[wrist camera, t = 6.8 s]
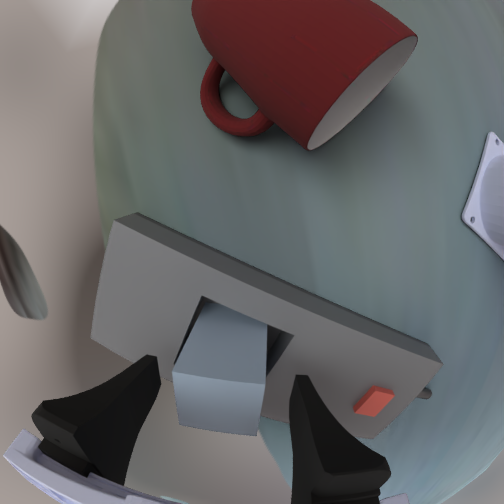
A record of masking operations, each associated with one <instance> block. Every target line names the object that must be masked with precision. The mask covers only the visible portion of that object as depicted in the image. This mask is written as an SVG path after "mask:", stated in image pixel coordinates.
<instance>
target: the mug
mask: <svg viewBox="0 0 504 504" xmlns="http://www.w3.org/2000/svg"><path fill="white" fill-rule="evenodd" d="M191 9H192V16H193V19H194V22H195V25H196V28H197V31H198V33H199V35H200V38H201V40H202V42H203V44H204V46H205V47H206V49H207V50H208V51H209V53H210V54H211V55H212V56H213V59H212V61H211V62H210V64H209V66H208V68H207V70H206V73H205V75H204V78H203V81H202V84H201V91H200V99H201V104H202V107H203V110H204V112H205V114H206V116H207V117H208V118H209V120H210V121H211V122H212V123H213V124H214V125H215V126H217V127H218V128H220V129H221V130H223V131H224V132H227V133H229V134H232V135H237V136H254V135H258V134H260V133H263V132H265V131H266V130H268V129H269V128H270V127H271V126H272V125H273V124H274V123H275V124H277V125H278V126H279V127H280V128H281V129H282V130H284V131H285V132H286V133H287V134H288V135H289V136H291V137H292V138H293V139H294V140H295V141H296V142H298V143H299V144H300V145H301V146H302V147H303V148H304V149H306V150H308V151H310V150H313V149H316V148H317V147H319V146H321V145H322V144H324V143H325V142H326V141H328V140H329V139H330V138H332V137H333V136H334V135H335V134H337V133H338V132H339V131H340V130H341V129H343V128H344V127H345V126H346V125H347V124H348V123H349V122H350V121H352V120H353V119H354V118H355V117H356V116H357V115H358V114H359V113H360V112H361V111H362V110H363V109H364V108H365V107H366V106H367V105H368V104H369V103H370V102H371V101H372V100H373V99H374V98H375V97H376V96H377V95H378V94H379V93H380V92H381V91H382V90H383V89H384V88H385V86H386V85H387V84H388V83H389V82H390V81H391V80H392V79H393V77H394V76H395V75H396V74H397V73H398V71H399V70H400V69H401V68H402V66H403V65H404V64H405V62H406V61H407V60H408V58H409V57H410V55H411V54H412V52H413V50H414V49H415V47H416V44H417V41H418V37H417V35H416V34H415V33H414V32H413V31H412V30H411V29H409V28H408V27H407V26H406V25H404V24H403V23H402V22H401V21H400V20H398V19H397V18H396V17H394V16H393V15H392V14H390V13H389V12H387V11H386V10H385V9H383V8H382V7H380V6H379V5H377V4H376V3H374V2H372V1H370V0H193V2H192V8H191ZM225 70H226V71H227V72H228V73H229V74H230V75H231V76H232V78H233V79H234V80H235V81H236V82H237V83H238V84H239V85H240V86H241V88H242V89H243V90H244V91H245V92H246V93H247V94H248V96H249V97H250V98H251V99H252V100H253V102H254V103H255V104H256V105H257V106H258V108H259V110H258V111H257V112H256V113H255V114H254V115H253V116H252V117H250V118H248V119H241V118H238V117H235V116H233V115H231V114H230V113H229V112H228V111H227V110H226V109H225V108H224V106H223V104H222V102H221V100H220V97H219V84H220V80H221V78H222V75H223V73H224V71H225Z"/></svg>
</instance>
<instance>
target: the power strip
mask: <svg viewBox="0 0 504 504" xmlns="http://www.w3.org/2000/svg"><path fill="white" fill-rule="evenodd" d="M205 302H207V303H215V304H222V305H224V306H226V307H229V308H231V309H233V310H235V311H238V312H240V313H242V314H244V315H247V316H249V317H251V318H254V319H256V320H258V321H261V322H263V323H266V324H267V353H266V382H265V390H264V396H263V402H262V408H261V414H260V416H263V417H267V418H270V419H274V420H277V421H281V422H285V423H288V424H290V422H289V400H290V396H291V392H292V388H293V384H294V379H295V375H308V376H309V378H310V380H311V382H312V384H313V385H314V387H315V389H316V391H317V393H318V394H319V396H320V397H321V399H322V400H323V402H324V404H325V405H326V406H327V408H328V409H329V411H330V412H331V413H332V414H333V416H334V417H335V418H336V419H337V421H338V422H339V423H340V424H341V425H342V426H343V427H344V428H345V429H346V430H347V431H348V432H349V433H350V434H351V435H352V436H354V437H360V438H368V439H373V438H375V437H376V436H377V435H378V434H379V433H380V432H381V431H382V430H384V429H385V428H386V427H387V426H388V425H389V424H390V423H391V422H392V421H393V420H394V419H395V418H396V417H397V416H398V415H399V414H400V413H401V412H402V411H403V410H404V409H405V408H406V407H407V406H408V405H409V404H410V403H411V402H412V401H413V400H414V399H415V398H416V397H418V398H422V399H429V398H430V397H431V395H432V392H431V390H429V389H425V386H426V385H427V384H428V383H429V382H430V380H431V379H432V378H433V377H434V376H435V374H436V373H437V372H438V371H439V369H440V368H441V367H442V366H443V363H442V362H441V360H440V359H439V358H438V356H437V355H436V354H435V353H434V351H433V350H432V349H431V347H430V346H429V345H428V344H427V343H425V342H422V341H420V340H418V339H415V338H413V337H411V336H408V335H406V334H404V333H401V332H399V331H397V330H395V329H392V328H390V327H388V326H385V325H383V324H381V323H378V322H376V321H374V320H372V319H369V318H367V317H365V316H362V315H360V314H358V313H356V312H353V311H351V310H349V309H346V308H344V307H342V306H340V305H337V304H335V303H333V302H331V301H328V300H326V299H324V298H322V297H319V296H317V295H315V294H313V293H311V292H308V291H306V290H304V289H302V288H299V287H297V286H295V285H293V284H290V283H288V282H286V281H284V280H282V279H279V278H277V277H275V276H273V275H271V274H268V273H266V272H264V271H262V270H260V269H257V268H255V267H253V266H251V265H249V264H247V263H244V262H242V261H240V260H238V259H236V258H233V257H231V256H229V255H227V254H225V253H223V252H221V251H218V250H216V249H214V248H212V247H210V246H208V245H205V244H203V243H201V242H199V241H197V240H195V239H193V238H190V237H188V236H186V235H184V234H182V233H180V232H178V231H176V230H173V229H171V228H169V227H167V226H165V225H163V224H161V223H159V222H157V221H154V220H152V219H150V218H148V217H146V216H144V215H142V214H140V213H138V212H137V213H134V214H131V215H128V216H125V217H121V218H118V219H115V220H114V221H113V225H112V228H111V232H110V236H109V240H108V244H107V248H106V252H105V256H104V261H103V265H102V270H101V275H100V280H99V285H98V291H97V297H96V302H95V309H94V316H93V323H92V331H91V338H92V339H93V340H95V341H96V342H98V343H100V344H101V345H103V346H105V347H106V348H108V349H110V350H111V351H113V352H115V353H117V354H119V355H120V356H122V357H124V358H125V359H128V360H129V361H131V362H133V363H135V362H137V361H138V360H139V359H141V358H142V357H144V356H145V355H146V354H148V355H152V356H157V360H158V367H159V373H160V377H162V378H164V379H166V380H169V381H171V382H173V376H172V370H173V368H174V366H175V364H176V362H177V360H178V358H179V356H180V354H181V351H182V349H183V347H184V345H185V343H186V341H187V339H188V337H189V335H190V333H191V331H192V329H193V327H194V325H195V323H196V321H197V319H198V317H199V315H200V313H201V311H202V308H203V306H204V304H205Z"/></svg>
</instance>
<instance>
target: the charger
mask: <svg viewBox="0 0 504 504" xmlns="http://www.w3.org/2000/svg"><path fill="white" fill-rule="evenodd" d="M266 353H267V324H266V323H263V322H261V321H258V320H256V319H254V318H251V317H249V316H247V315H244V314H242V313H240V312H238V311H235V310H233V309H231V308H229V307H226V306H224V305H222V304H215V303H207V302H205V304H204V306H203V308H202V311H201V313H200V315H199V317H198V319H197V321H196V323H195V325H194V327H193V329H192V331H191V333H190V335H189V337H188V339H187V341H186V343H185V345H184V347H183V349H182V351H181V354H180V356H179V358H178V360H177V362H176V364H175V366H174V368H173V370H172V376H173V384H174V391H175V399H176V406H177V412H178V419H179V424H180V425H183V426H188V427H193V428H198V429H204V430H210V431H216V432H223V433H231V434H239V435H250V436H257V430H258V425H259V419H260V414H261V408H262V402H263V396H264V390H265V382H266Z"/></svg>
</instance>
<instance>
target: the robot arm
mask: <svg viewBox="0 0 504 504" xmlns="http://www.w3.org/2000/svg"><path fill="white" fill-rule="evenodd" d="M495 141H496V142H495ZM471 217H472V221H470V220H471ZM462 220H463V221H464V222H465V223H466V224H467V225H468V226H469V227H470V228H471V229H472V230H473V231H475V232H476V233H477V234H478V235H479V236H480V237H481V238H482V239H483V240H484V241H485V242H486V243H487V244H488V245H489V246H490V247H491V248H492V249H493V250H494V251H495V252H496V253H497V254H498V255H499V256H500V257H501V258H502V259H503V261H504V144H503V143H502V142H501V140H500V139H499V138H498V137H497V136H496V134H495V133H493V132H489V133H488V135H487V139H486V143H485V147H484V151H483V154H482V158H481V161H480V165H479V168H478V171H477V174H476V177H475V180H474V183H473V186H472V189H471V192H470V195H469V197H468V200H467V203H466V205H465V208H464V210H463V213H462ZM160 386H161V380H160V373H159V367H158V360H157V356H152V355H148V354H146V355H145V356H144V357H142V358H141V359H139V360H138V361H137V362H135V363H134V364H132V365H131V366H130V367H128V368H127V369H125V370H124V371H123V372H121V373H120V374H118V375H116V376H115V377H113V378H112V379H110V380H108V381H107V382H105V383H103V384H101V385H99V386H97V387H94V388H92V389H90V390H87V391H85V392H82V393H79V394H76V395H72V396H69V397H64V398H60V399H53V400H45V401H43V402H42V403H41V404H40V405H39V406H38V408H37V409H36V410H35V411H34V412H33V414H32V420H33V422H34V424H35V426H36V427H37V428H38V430H39V431H40V433H41V434H42V436H43V437H44V439H43V440H42V441H41V440H40V439H38V438H37V437H36V436H34V435H33V434H31V433H30V432H28V431H27V430H26V429H23V430H22V431H21V432H20V433H19V435H18V436H17V437H16V439H15V440H14V441H13V443H12V444H11V445H10V447H9V448H8V449H7V450H6V452H5V453H4V457H5V458H6V460H8V462H9V463H10V464H11V465H12V466H13V467H14V468H15V469H16V470H17V471H18V472H19V473H20V474H21V475H22V476H23V477H24V478H25V479H27V480H28V481H29V482H31V483H32V484H33V485H35V486H36V487H37V488H39V489H40V490H42V491H43V492H45V493H46V494H47V495H49V496H51V497H52V498H54V499H55V500H57V501H58V502H60V503H61V504H181V503H177V502H173V501H169V500H165V499H162V498H158V497H155V496H151V495H148V494H145V493H142V492H139V491H136V490H133V489H130V488H127V487H125V486H124V483H125V478H126V473H127V469H128V465H129V461H130V458H131V455H132V451H133V448H134V445H135V442H136V439H137V436H138V433H139V431H140V429H141V427H142V425H143V423H144V421H145V419H146V417H147V415H148V413H149V411H150V410H151V408H152V406H153V404H154V402H155V400H156V397H157V395H158V392H159V389H160ZM289 422H290V431H291V440H292V449H293V481H292V498H291V504H410V503H409V500H408V496H407V493H403V494H400V495H396V496H392V497H388V498H385V499H382V500H380V501H379V498H378V496H379V495H380V489H379V488H380V487H381V486H382V485H383V484H384V483H385V482H386V481H387V480H388V479H389V478H390V476H391V471H390V467H389V465H388V462H387V460H386V458H385V457H383V456H382V455H380V454H378V453H376V452H375V451H373V450H371V449H370V448H368V447H367V446H365V445H364V444H362V443H361V442H360V441H358V440H357V439H356V438H355V437H354V436H352V435H351V434H350V433H349V432H348V431H347V430H346V429H345V428H344V427H343V426H342V425H341V424H340V423H339V422H338V421H337V419H336V418H335V417H334V416H333V414H332V413H331V412H330V411H329V409H328V408H327V406H326V405H325V404H324V402H323V400H322V399H321V397H320V396H319V394H318V393H317V391H316V389H315V387H314V385H313V384H312V382H311V380H310V378H309V376H308V375H295V379H294V384H293V388H292V392H291V396H290V400H289Z"/></svg>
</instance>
